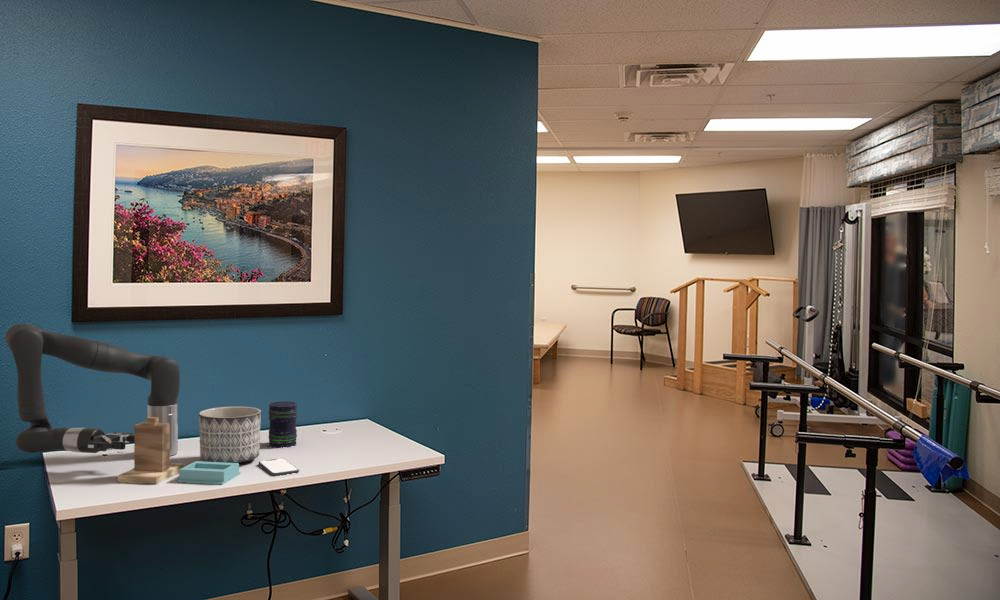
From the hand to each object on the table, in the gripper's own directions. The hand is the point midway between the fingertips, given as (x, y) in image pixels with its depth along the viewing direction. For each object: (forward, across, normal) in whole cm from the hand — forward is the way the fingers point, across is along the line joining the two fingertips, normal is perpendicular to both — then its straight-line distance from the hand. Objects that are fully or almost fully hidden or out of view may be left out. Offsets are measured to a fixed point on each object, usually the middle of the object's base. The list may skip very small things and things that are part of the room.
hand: (133, 442), depth 236 cm
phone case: (+40, +15, +11) cm, 44 cm away
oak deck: (+6, 0, +10) cm, 12 cm away
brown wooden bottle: (+6, 0, +8) cm, 10 cm away
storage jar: (+29, +46, +10) cm, 55 cm away
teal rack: (+24, +1, +10) cm, 26 cm away
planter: (+21, +21, +10) cm, 32 cm away
